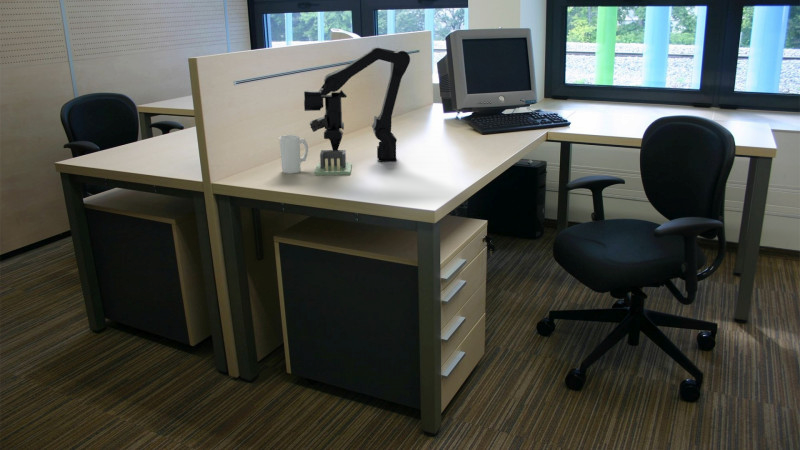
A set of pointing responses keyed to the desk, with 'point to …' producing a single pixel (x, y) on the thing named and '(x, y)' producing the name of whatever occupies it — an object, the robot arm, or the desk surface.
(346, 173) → the board
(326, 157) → the grey c-shaped bracket
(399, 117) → the desk surface
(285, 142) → the mug
